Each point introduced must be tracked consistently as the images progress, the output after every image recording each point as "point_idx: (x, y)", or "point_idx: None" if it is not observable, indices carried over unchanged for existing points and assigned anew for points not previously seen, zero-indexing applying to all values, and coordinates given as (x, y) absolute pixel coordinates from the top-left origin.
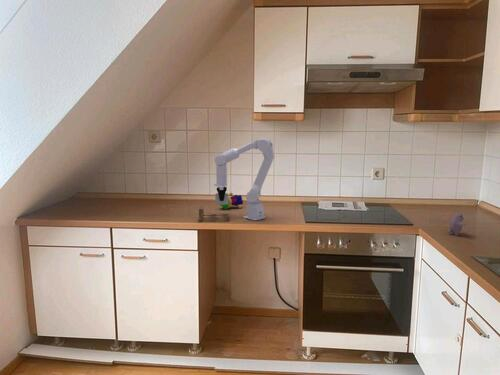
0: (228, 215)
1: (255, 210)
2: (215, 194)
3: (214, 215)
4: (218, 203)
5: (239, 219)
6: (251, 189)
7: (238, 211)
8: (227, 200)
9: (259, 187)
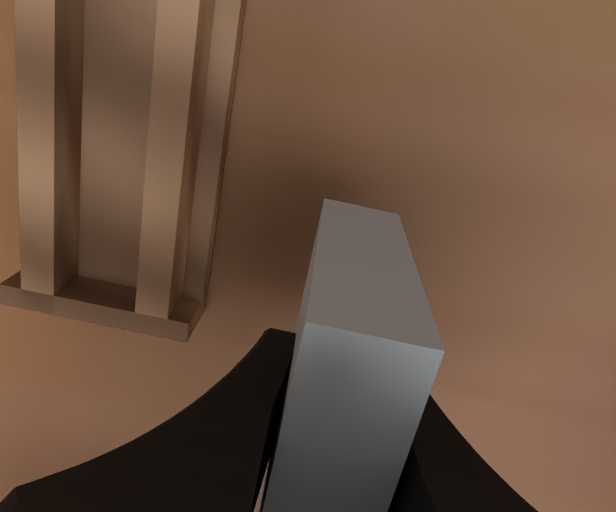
0: (66, 305)
1: None
2: (308, 315)
3: (155, 107)
4: (308, 270)
5: (123, 398)
6: None
7: (520, 479)
8: (263, 480)
9: None
